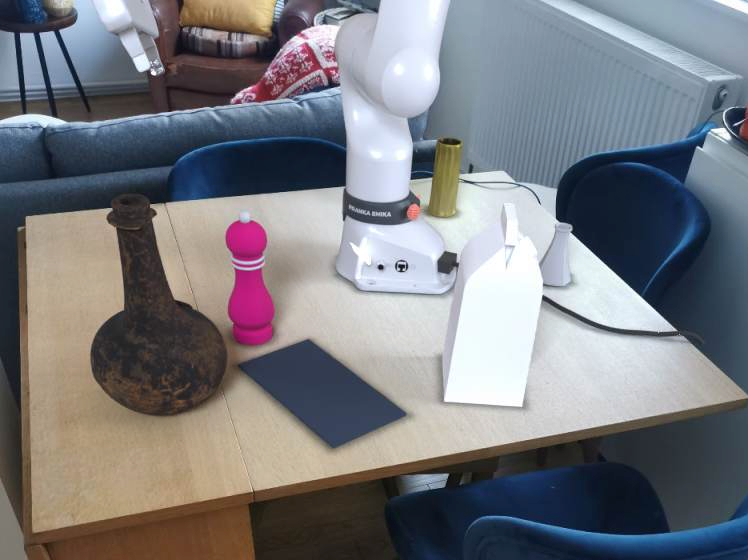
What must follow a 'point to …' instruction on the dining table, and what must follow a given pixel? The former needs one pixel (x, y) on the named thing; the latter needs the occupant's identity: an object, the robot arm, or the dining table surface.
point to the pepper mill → (249, 282)
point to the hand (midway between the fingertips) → (153, 73)
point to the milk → (493, 316)
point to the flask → (557, 258)
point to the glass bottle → (153, 328)
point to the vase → (445, 177)
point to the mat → (322, 392)
